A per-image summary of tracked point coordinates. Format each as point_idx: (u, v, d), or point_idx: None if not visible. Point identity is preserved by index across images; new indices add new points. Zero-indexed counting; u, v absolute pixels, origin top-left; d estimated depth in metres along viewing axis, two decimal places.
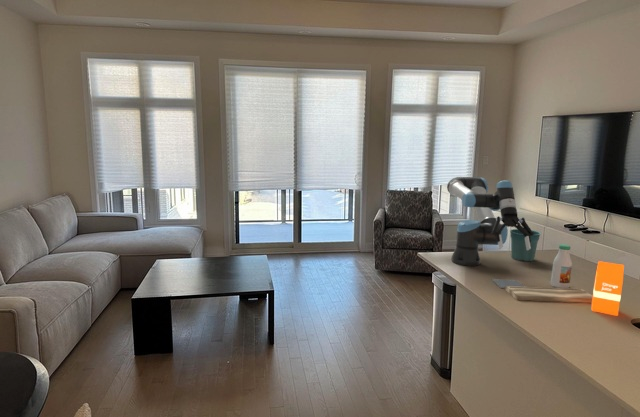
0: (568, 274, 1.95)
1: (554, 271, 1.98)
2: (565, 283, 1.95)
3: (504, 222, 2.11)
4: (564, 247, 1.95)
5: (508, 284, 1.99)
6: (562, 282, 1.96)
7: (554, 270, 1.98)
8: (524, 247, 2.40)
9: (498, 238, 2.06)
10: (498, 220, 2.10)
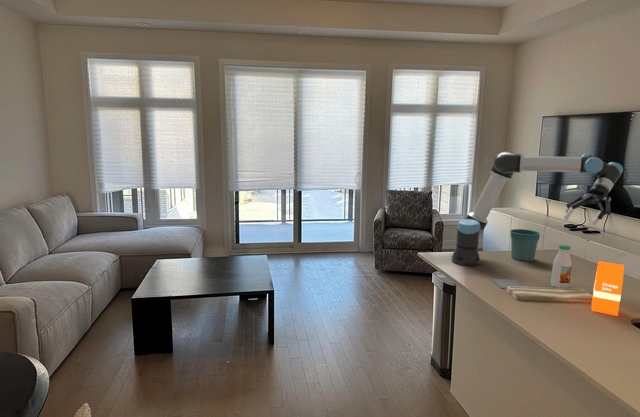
0: (568, 274, 1.95)
1: (554, 271, 1.98)
2: (565, 283, 1.95)
3: None
4: (564, 247, 1.95)
5: (508, 284, 1.99)
6: (562, 282, 1.96)
7: (554, 270, 1.98)
8: (524, 247, 2.40)
9: None
10: None
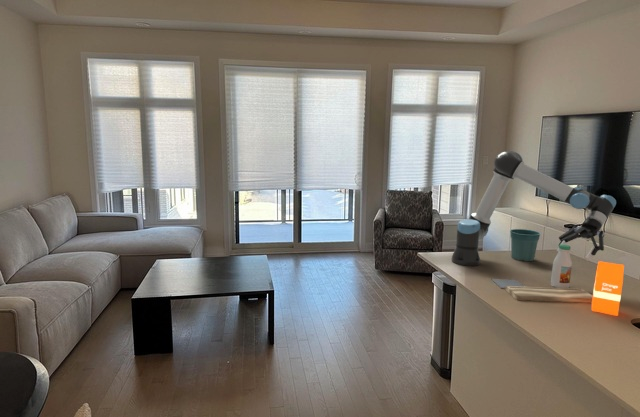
0: (568, 274, 1.95)
1: (554, 271, 1.98)
2: (565, 283, 1.95)
3: (592, 234, 1.99)
4: (564, 247, 1.95)
5: (508, 284, 1.99)
6: (562, 282, 1.96)
7: (554, 270, 1.98)
8: (524, 247, 2.40)
9: None
10: None
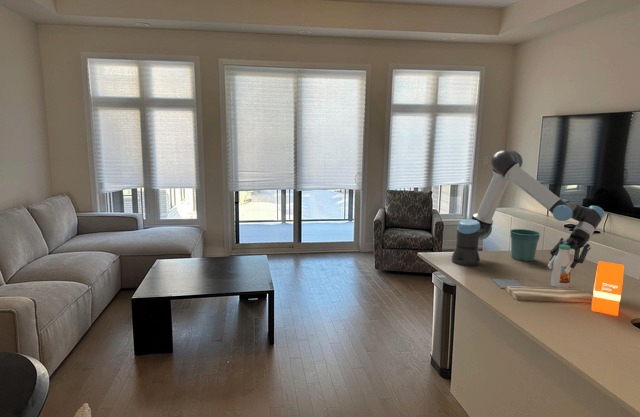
0: (568, 274, 1.95)
1: (554, 271, 1.98)
2: (565, 283, 1.95)
3: None
4: (564, 247, 1.95)
5: (508, 284, 1.99)
6: (562, 282, 1.96)
7: (554, 270, 1.98)
8: (524, 247, 2.40)
9: None
10: None
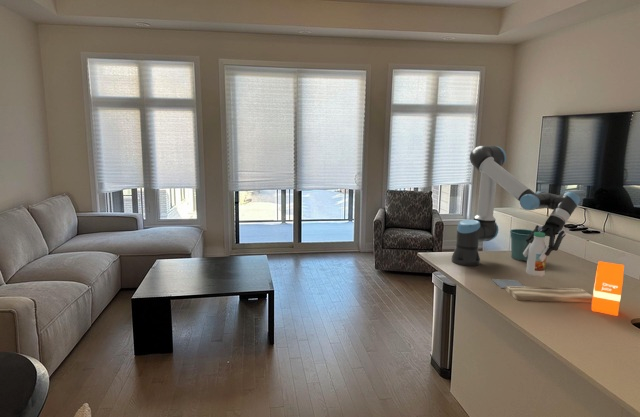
0: (543, 262, 1.92)
1: (529, 259, 1.95)
2: (540, 271, 1.93)
3: None
4: (539, 234, 1.92)
5: (508, 284, 1.99)
6: (537, 270, 1.93)
7: (530, 257, 1.95)
8: (524, 247, 2.40)
9: None
10: None
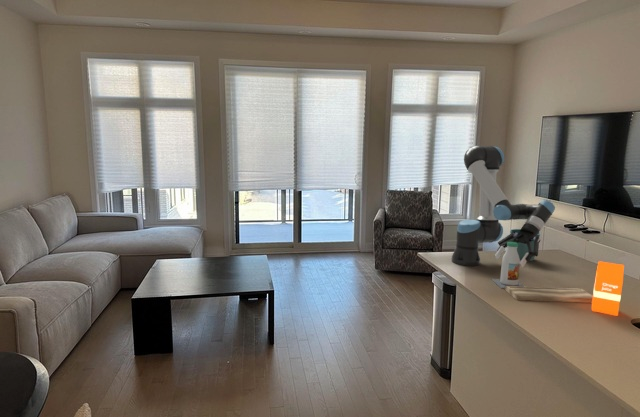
0: (516, 271, 1.95)
1: (502, 268, 1.98)
2: (513, 280, 1.96)
3: (529, 240, 1.98)
4: (511, 244, 1.95)
5: None
6: (510, 279, 1.96)
7: (503, 267, 1.98)
8: (524, 247, 2.40)
9: None
10: None
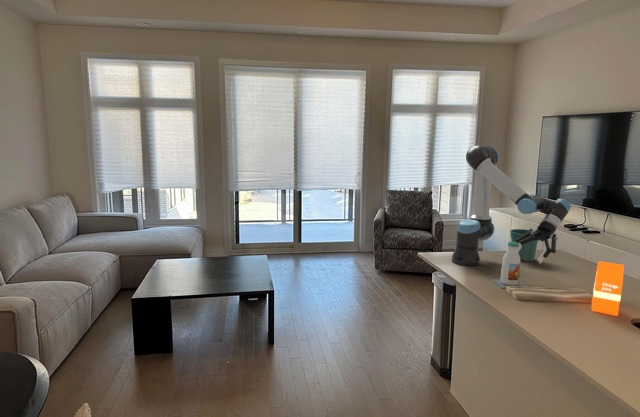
0: (516, 271, 1.95)
1: (503, 268, 1.98)
2: (513, 280, 1.96)
3: (546, 237, 2.04)
4: (512, 244, 1.95)
5: None
6: (510, 279, 1.96)
7: (503, 267, 1.98)
8: (524, 247, 2.40)
9: None
10: None
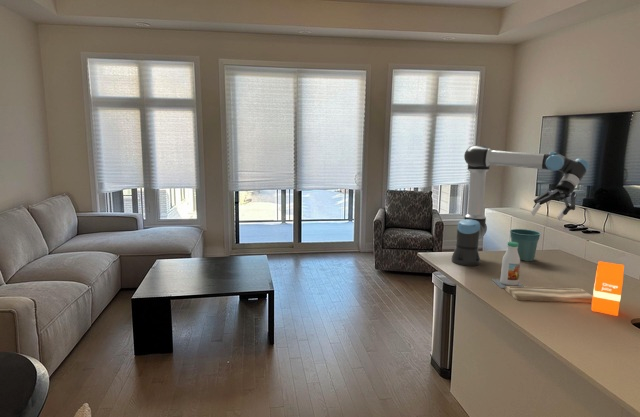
0: (516, 271, 1.95)
1: (503, 268, 1.98)
2: (513, 280, 1.96)
3: (565, 196, 2.06)
4: (512, 244, 1.95)
5: None
6: (510, 279, 1.96)
7: (503, 267, 1.98)
8: (524, 247, 2.40)
9: None
10: None
